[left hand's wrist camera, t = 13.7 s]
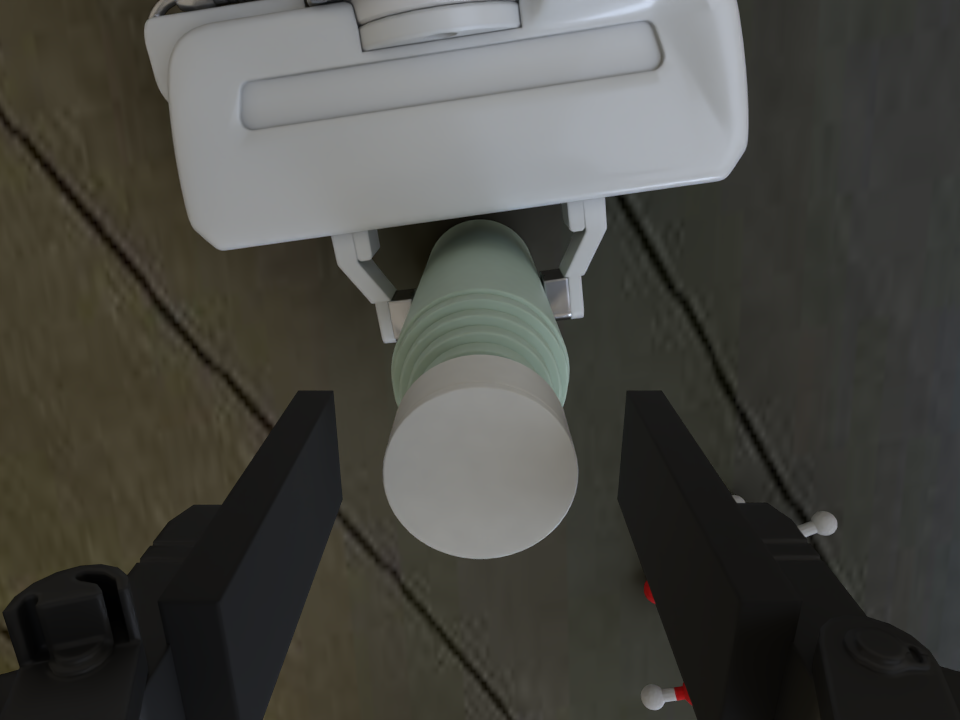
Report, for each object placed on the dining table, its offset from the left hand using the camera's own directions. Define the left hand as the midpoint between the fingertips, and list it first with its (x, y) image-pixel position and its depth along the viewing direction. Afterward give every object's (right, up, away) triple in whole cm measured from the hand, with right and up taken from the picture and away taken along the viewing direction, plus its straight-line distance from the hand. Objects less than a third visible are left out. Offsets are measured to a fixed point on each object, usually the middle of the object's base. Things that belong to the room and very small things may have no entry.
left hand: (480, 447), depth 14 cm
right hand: (0, +3, +12) cm, 12 cm away
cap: (0, 0, -1) cm, 1 cm away
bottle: (0, +6, +18) cm, 19 cm away
